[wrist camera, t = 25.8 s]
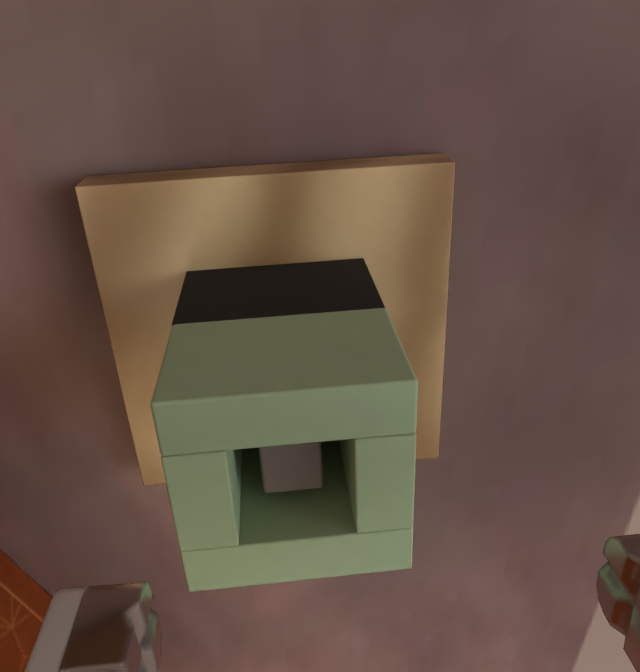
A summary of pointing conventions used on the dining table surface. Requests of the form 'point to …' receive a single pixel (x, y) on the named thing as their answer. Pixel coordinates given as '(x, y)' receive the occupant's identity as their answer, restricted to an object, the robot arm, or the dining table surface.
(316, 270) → the black hollow square block
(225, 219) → the base board
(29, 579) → the book
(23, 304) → the dining table surface
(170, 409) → the green hollow square block
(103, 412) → the dining table surface
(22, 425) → the dining table surface
